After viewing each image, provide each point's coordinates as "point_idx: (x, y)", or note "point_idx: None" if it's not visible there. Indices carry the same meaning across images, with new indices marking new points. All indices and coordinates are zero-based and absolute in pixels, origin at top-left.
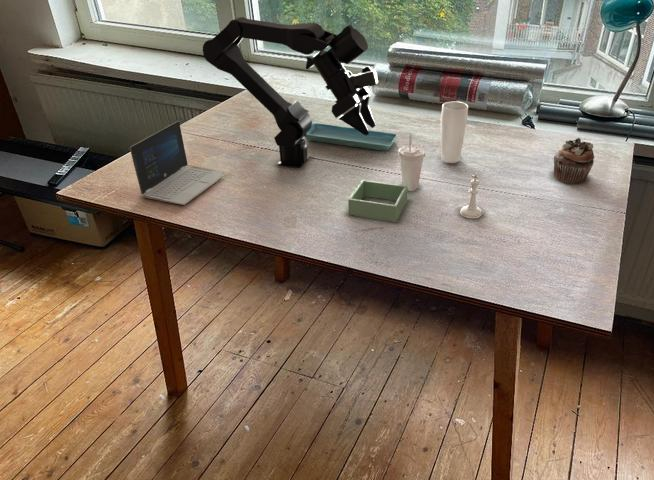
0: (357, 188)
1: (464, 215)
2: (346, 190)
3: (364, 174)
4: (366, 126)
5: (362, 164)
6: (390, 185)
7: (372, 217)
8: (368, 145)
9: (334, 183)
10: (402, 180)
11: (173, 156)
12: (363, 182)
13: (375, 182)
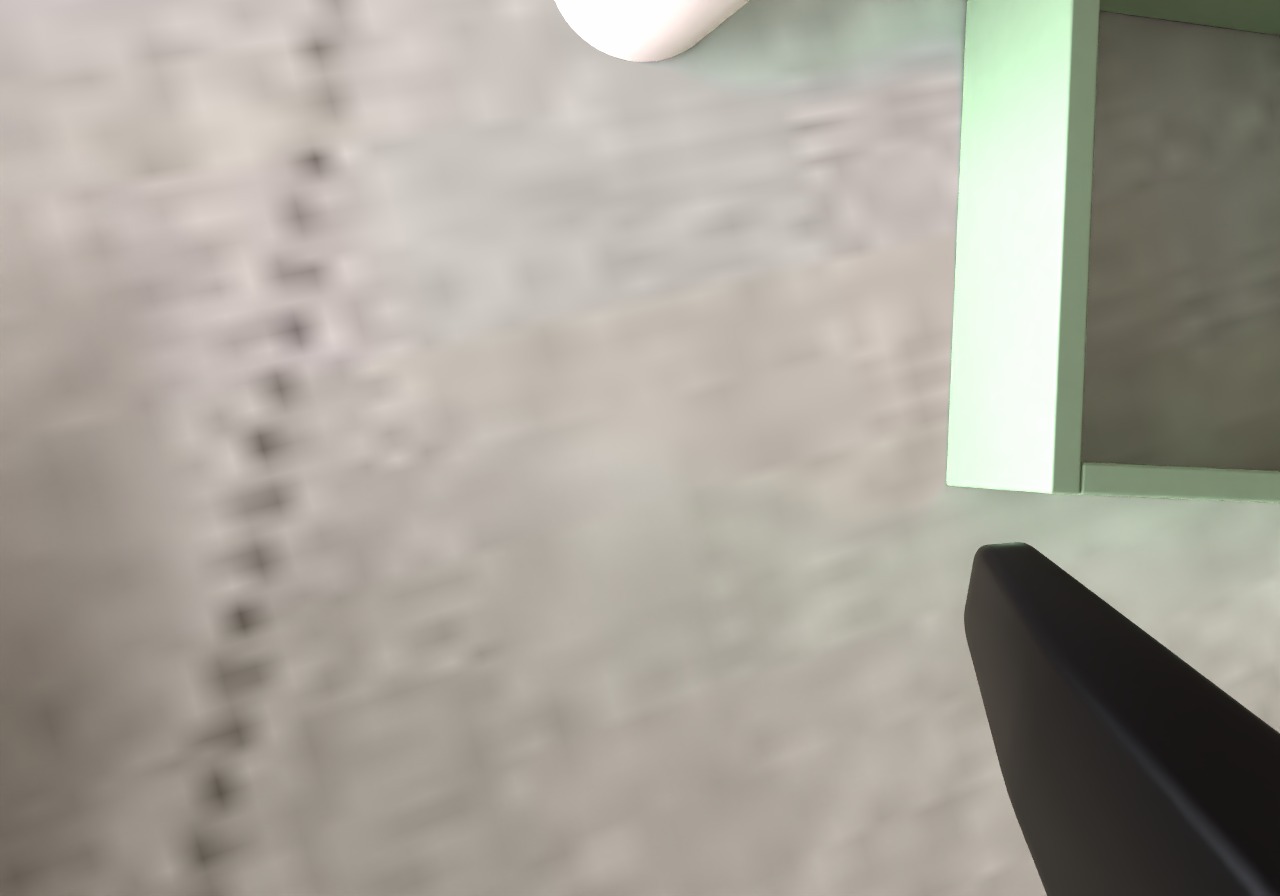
0: (1277, 485)
1: None
2: (895, 691)
3: (433, 613)
4: (1095, 659)
5: (123, 736)
6: (1092, 101)
7: None
8: None
9: (768, 890)
10: (717, 24)
11: None
12: (1093, 462)
13: (1085, 303)
